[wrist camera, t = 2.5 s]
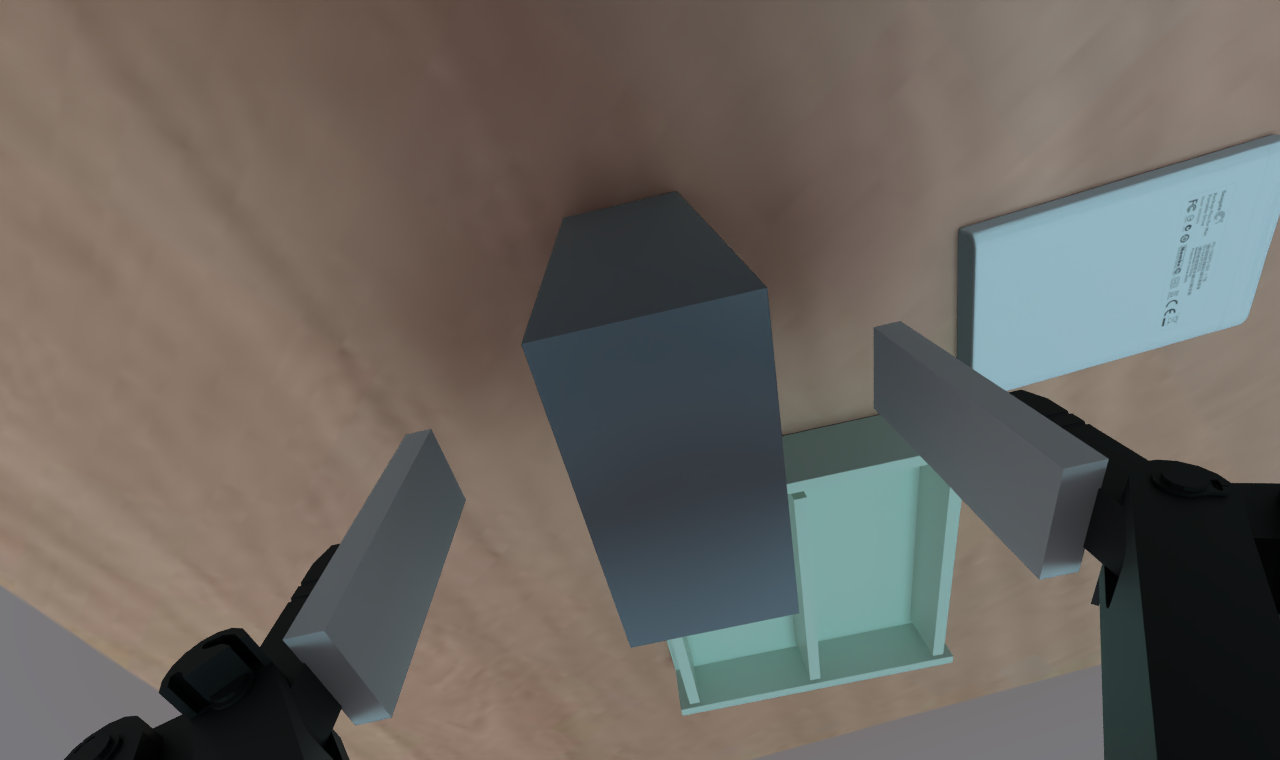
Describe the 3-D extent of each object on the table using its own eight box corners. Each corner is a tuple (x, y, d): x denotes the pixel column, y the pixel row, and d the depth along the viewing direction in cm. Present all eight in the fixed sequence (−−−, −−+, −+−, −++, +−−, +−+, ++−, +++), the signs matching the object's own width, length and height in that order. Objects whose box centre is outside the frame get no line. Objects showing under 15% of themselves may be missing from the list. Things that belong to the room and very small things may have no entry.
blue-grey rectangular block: (563, 218, 20) (521, 344, 9) (676, 190, 20) (767, 287, 9) (617, 410, 24) (630, 647, 13) (710, 389, 24) (799, 613, 13)
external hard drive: (951, 226, 21) (1260, 132, 21) (950, 388, 25) (1210, 315, 24) (976, 234, 20) (1309, 134, 19) (971, 404, 24) (1249, 328, 23)
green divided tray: (618, 471, 26) (621, 519, 23) (935, 402, 25) (981, 442, 22) (675, 660, 33) (683, 715, 30) (919, 611, 33) (952, 662, 30)
